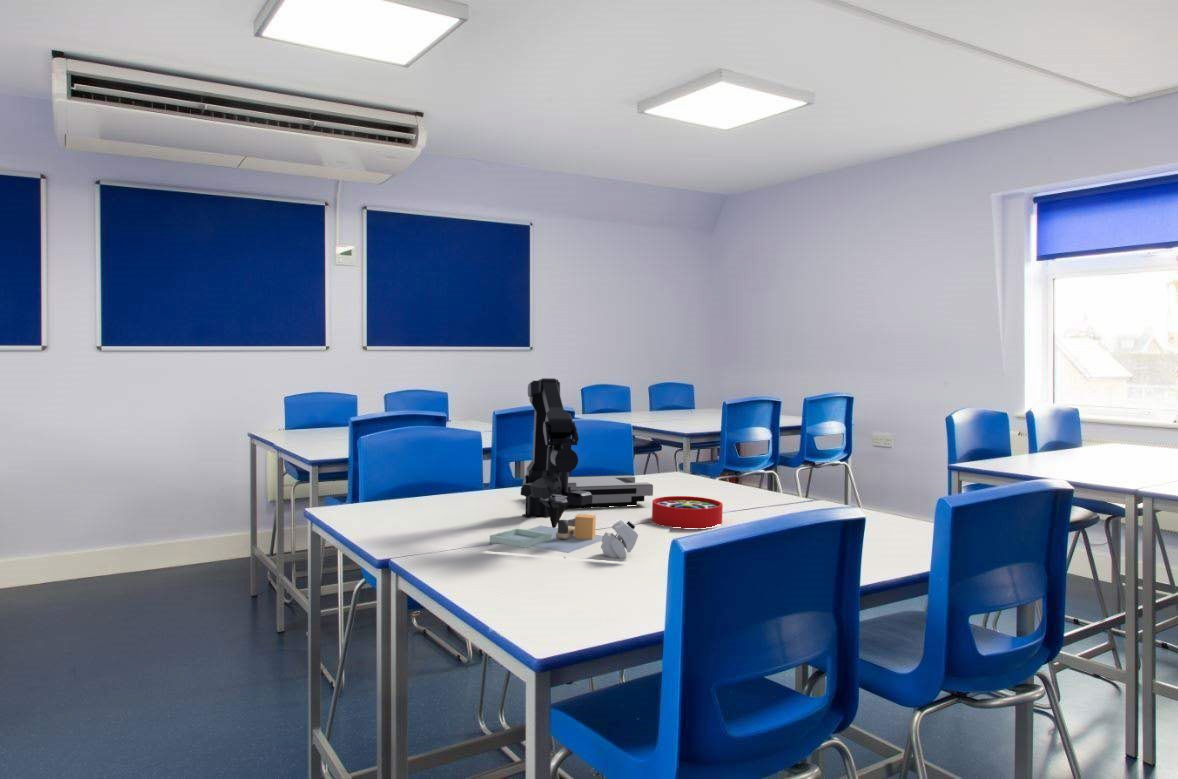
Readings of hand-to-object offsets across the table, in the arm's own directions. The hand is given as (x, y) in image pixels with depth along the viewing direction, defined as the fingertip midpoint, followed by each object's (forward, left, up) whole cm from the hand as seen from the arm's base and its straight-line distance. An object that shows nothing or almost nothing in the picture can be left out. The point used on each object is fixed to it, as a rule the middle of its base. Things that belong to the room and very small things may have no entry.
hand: (554, 527), depth 204 cm
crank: (+1, +6, -2) cm, 7 cm away
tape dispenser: (+22, -5, -4) cm, 22 cm away
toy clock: (+17, +42, -4) cm, 46 cm away
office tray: (-19, +51, -4) cm, 55 cm away
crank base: (0, 0, -3) cm, 3 cm away
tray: (-5, -7, -3) cm, 9 cm away
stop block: (+6, +5, -3) cm, 8 cm away
